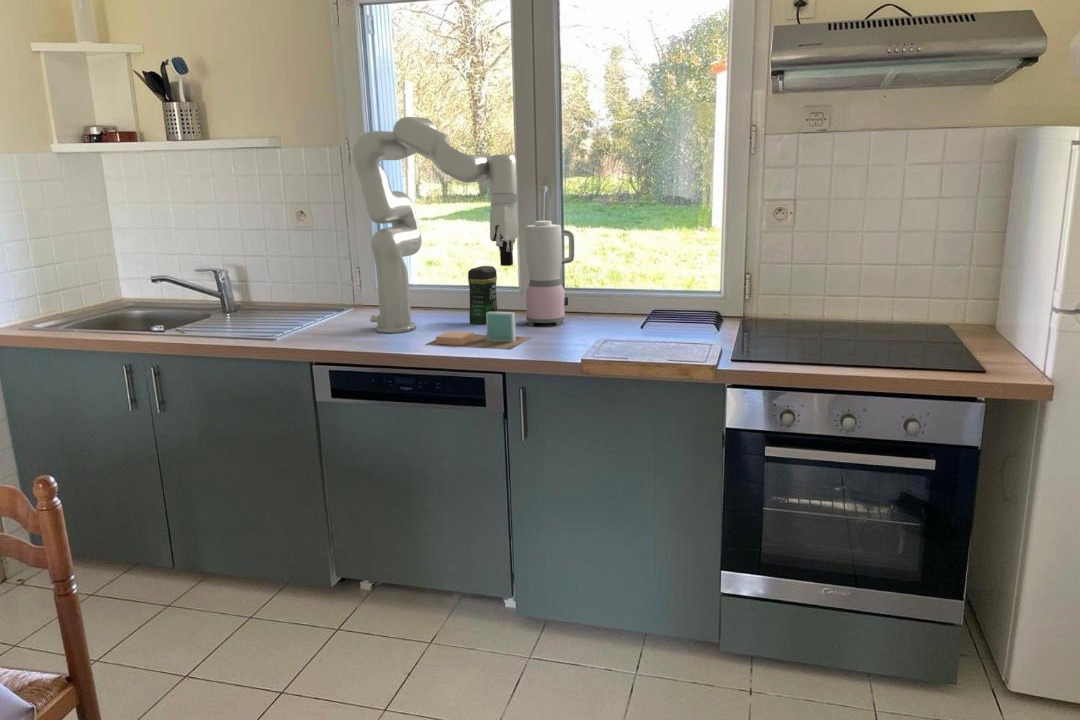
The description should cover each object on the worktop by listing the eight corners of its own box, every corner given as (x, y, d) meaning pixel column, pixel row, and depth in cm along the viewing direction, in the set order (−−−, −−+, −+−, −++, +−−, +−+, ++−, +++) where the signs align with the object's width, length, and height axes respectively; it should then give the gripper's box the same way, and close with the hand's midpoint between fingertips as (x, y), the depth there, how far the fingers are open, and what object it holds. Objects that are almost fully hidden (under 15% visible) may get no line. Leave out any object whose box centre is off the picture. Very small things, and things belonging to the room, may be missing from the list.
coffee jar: (488, 328, 254) (485, 268, 250) (466, 326, 258) (463, 267, 253) (502, 322, 263) (500, 264, 258) (481, 320, 266) (478, 264, 262)
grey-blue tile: (487, 340, 232) (485, 312, 230) (490, 338, 234) (488, 311, 232) (512, 342, 229) (511, 313, 227) (515, 340, 231) (514, 312, 229)
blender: (525, 327, 253) (522, 223, 246) (526, 319, 265) (523, 220, 258) (576, 326, 253) (574, 221, 246) (574, 318, 265) (573, 219, 258)
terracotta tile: (449, 338, 236) (436, 344, 229) (449, 331, 235) (435, 336, 228) (474, 339, 233) (461, 345, 226) (474, 332, 233) (461, 338, 225)
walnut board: (425, 347, 229) (425, 344, 229) (451, 336, 244) (451, 332, 243) (510, 353, 220) (510, 349, 220) (532, 340, 234) (532, 337, 234)
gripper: (502, 198, 236) (505, 262, 240) (480, 201, 223) (483, 268, 227) (526, 198, 233) (529, 262, 238) (505, 201, 220) (508, 269, 224)
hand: (506, 265), depth 232 cm, fingers closed
